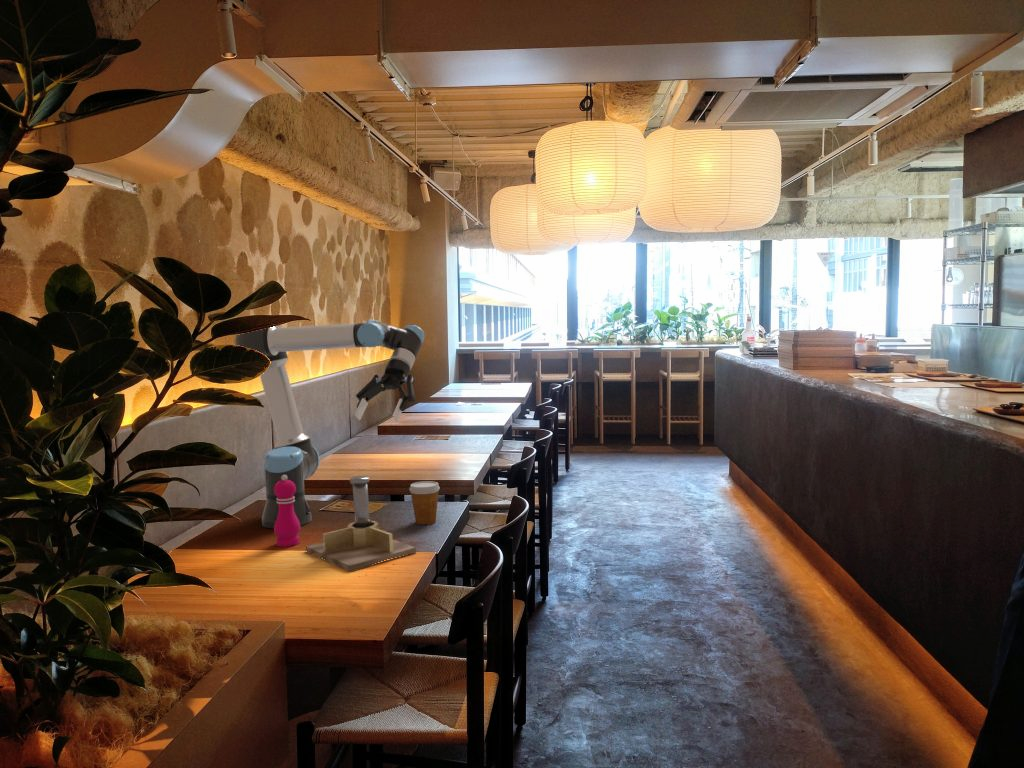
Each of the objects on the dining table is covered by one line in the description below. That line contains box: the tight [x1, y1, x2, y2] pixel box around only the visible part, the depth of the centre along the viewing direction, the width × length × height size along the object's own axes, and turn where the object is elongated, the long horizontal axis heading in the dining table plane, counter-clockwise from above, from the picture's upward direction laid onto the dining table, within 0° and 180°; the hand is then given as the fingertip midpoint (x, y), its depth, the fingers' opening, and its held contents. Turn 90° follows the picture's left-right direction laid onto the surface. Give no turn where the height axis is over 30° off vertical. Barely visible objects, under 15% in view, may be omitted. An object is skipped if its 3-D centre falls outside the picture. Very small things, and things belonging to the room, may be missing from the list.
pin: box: [349, 475, 371, 528], centre depth 198 cm, size 5×5×18 cm
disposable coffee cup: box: [409, 480, 441, 526], centre depth 223 cm, size 10×10×12 cm
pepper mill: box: [273, 475, 301, 548], centre depth 204 cm, size 7×7×20 cm
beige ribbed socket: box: [322, 520, 394, 553], centre depth 192 cm, size 18×16×5 cm
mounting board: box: [305, 539, 417, 572], centre depth 195 cm, size 24×20×2 cm
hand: (376, 417), depth 217 cm, fingers open, 13 cm apart
